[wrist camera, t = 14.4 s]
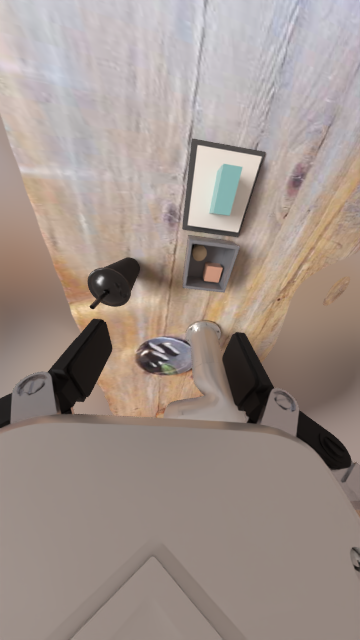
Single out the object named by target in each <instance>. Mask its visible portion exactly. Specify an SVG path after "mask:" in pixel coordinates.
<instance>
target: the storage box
mask: <svg viewBox="0 0 360 640" xmlns="http://www.w3.org/2000/svg"><path fill="white" fill-rule="evenodd" d="M239 248H240V246H239V245H237V244H235V243H233V242H231V241H228V240H221V239H213V238H206V237H199V236H192V235H188V240H187V248H186V256H185V263H184V271H183V288H189V289H198V290H207V291H215V292H225V289H226V286H227V283H228V280H229V277H230V274H231V271H232V268H233V265H234V262H235V259H236V256H237V254H238V251H239Z"/></svg>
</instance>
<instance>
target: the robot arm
mask: <svg viewBox="0 0 360 640" xmlns="http://www.w3.org/2000/svg"><path fill="white" fill-rule="evenodd" d="M220 337H221V331H220V328H219V326H218V325H217V324H215V323H213V322H211V321H198V322H195V323H193V324H192V325H190V326H189V327H188V329H187V330H186V340H187V342H188V343H189V344H190V345H191V359H192V373H193V380H194V383H195V385H196V387H197V388H198V389H199V390H200V392H201V393H202V394H204V396H201V397H197V398H190V399H183V400H177V401H173V402H171V403H169V404H168V405H167V407H166V409H165V411H164V416H163V418H153V417H133V416H112V415H86V414H85V415H84V414H74V410H73V406H74V404H75V402H76V401H77V402H84V401H85V399H86V397H88V396H89V395H90V394H91V392H92V390H93V388H94V386H95V384H96V382H97V380H98V378H99V376H100V374H101V372H102V370H103V368H104V366H105V364H106V362H107V360H108V358H109V356H110V354H111V352H112V344H111V340H110V336H109V332H108V328H107V324H106V322H104V321H103V320H102V319H93V320H92V321H91V322H90V323H89V324H88V325H87V327H86V328H85V329H84V330H83V331H82V333H81V334H80V335H79V336H78V337H77V338H76V339H75V340H74V341H73V343H72V344H71V345H70V346H69V347H68V348H67V350H66V351H65V352H64V353H63V354H62V355H61V357H60V358H59V359H58V360H57V362H56V363H55V364H54V365H53V366H52V368H51V369H50V370H49V371H48V372H37V373H33V374H31V375H29V376H27V377H25V378H24V379H22V380H21V381H20V382H19V383H18V384H16V386H15V388H14V389H13V392H12V393H11V394H9V395H6V396H4V397H2V398H0V640H360V465H359V464H358V463H357V462H355V463H353V462H352V461H351V457H350V455H349V453H348V451H347V449H346V448H345V446H344V445H343V444H342V443H341V442H340V441H339V440H338V439H337V438H336V437H335V436H334V435H332V434H331V433H330V432H328V431H327V430H326V429H324V428H323V427H321V426H320V425H319V424H317V423H316V422H315V421H313V420H312V419H310V418H309V417H308V416H306V415H305V414H304V413H302V412H301V411H299V406H298V404H297V402H296V400H295V399H294V398H293V397H292V396H291V395H290V394H289V393H288V392H286V391H285V390H283V389H280V388H274V387H273V385H272V383H271V381H270V379H269V377H268V375H267V374H266V372H265V370H264V368H263V366H262V364H261V362H260V360H259V359H258V357H257V355H256V353H255V351H254V350H253V348H252V346H251V344H250V342H249V340H248V338H247V336H246V335H245V333H238V332H236V333H235V334H233V335H232V337H231V339H230V342H229V344H228V346H227V348H226V350H225V352H224V354H223V353H222V350H221V346H220V343H219V339H220ZM244 411H246V415H247V418H246V416H245V413H244Z"/></svg>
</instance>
